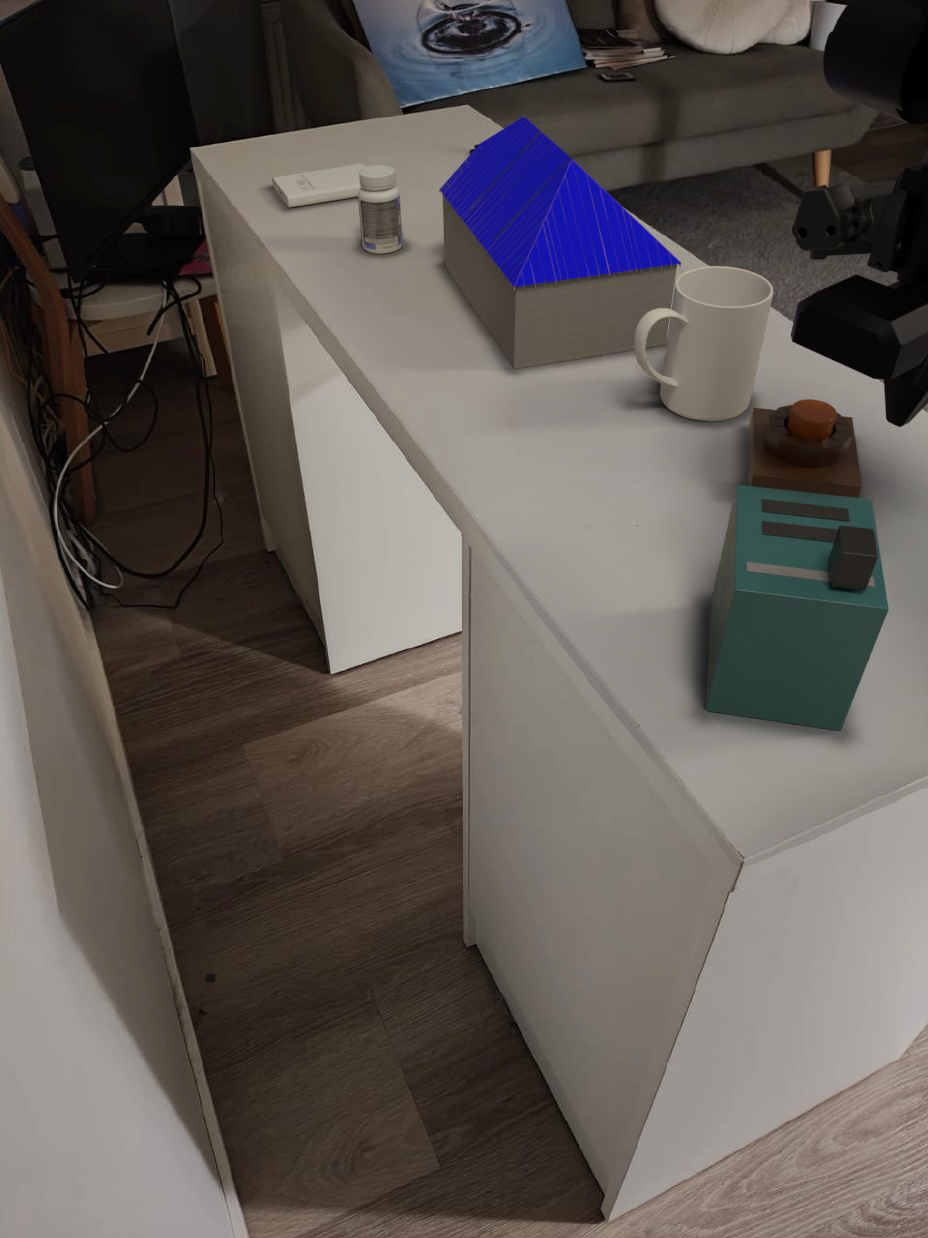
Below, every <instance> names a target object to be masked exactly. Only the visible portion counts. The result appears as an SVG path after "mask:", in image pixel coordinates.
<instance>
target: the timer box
mask: <svg viewBox="0 0 928 1238" xmlns="http://www.w3.org/2000/svg"><path fill="white" fill-rule="evenodd" d="M792 405H793V404H789V405H784V406H779V407H778V408H776V409H772V408H760V407H753V408H752V411H751V415H750V421H749V424H748V429H747V433H748V434H747V438H748V439H747V440H748V441H747V444H748V445H747V452H748V453H747V454H748V455H747V486H754V487H763V488H772V489H781V490H790V491H799V492H808V493H817V494H826V495H836V496H845V497H854V498H860V494H861V492H862V489H863V483H862V475H861V468H860V460H859V454H858V448H857V439H856V434H855V427H854V420H853V419H854V418H853V417H852V416H843V415H842V414H841V413H840V412H837V416H836V419H835V423H834V426H833V430H832V433H831V435H830V436H829V437H828V438H823V439H808V438H803V437H800V436H798V435H795V434H792V433H791V432H790V431H789V430H788V429H787V423H788V419H789V415H790V411H791V407H792Z"/></svg>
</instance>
